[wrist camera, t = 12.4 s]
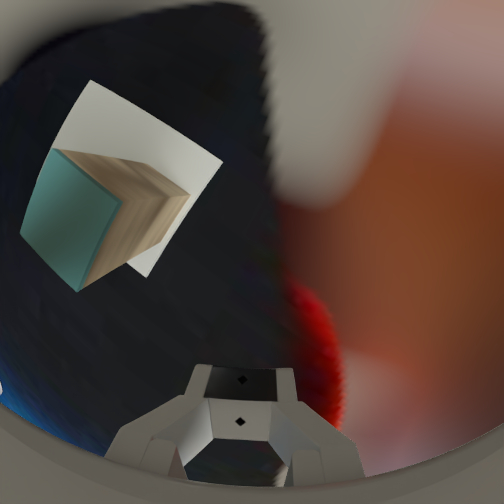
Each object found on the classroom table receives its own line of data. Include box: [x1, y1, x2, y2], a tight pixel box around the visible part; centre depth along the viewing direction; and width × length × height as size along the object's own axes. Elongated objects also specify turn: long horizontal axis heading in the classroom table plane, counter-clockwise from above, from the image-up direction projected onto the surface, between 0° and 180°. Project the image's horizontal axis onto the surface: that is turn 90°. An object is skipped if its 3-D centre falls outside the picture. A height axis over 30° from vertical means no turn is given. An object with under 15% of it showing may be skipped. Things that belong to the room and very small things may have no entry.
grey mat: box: [37, 80, 223, 277], centre depth 17 cm, size 14×10×1 cm
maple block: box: [20, 148, 191, 292], centre depth 13 cm, size 4×4×10 cm
